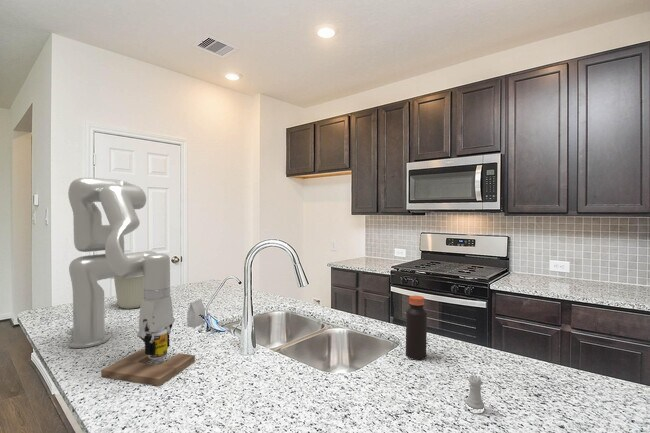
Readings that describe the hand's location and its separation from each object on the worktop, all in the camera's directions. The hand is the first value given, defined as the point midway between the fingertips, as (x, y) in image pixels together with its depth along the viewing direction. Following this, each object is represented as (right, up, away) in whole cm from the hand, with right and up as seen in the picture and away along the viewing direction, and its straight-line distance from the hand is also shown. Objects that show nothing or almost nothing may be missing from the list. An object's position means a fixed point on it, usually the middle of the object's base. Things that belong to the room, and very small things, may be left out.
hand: (157, 349), depth 109 cm
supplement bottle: (0, -2, 0) cm, 2 cm away
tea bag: (-2, -4, +38) cm, 38 cm away
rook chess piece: (+90, -6, -23) cm, 93 cm away
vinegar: (+83, -5, +8) cm, 84 cm away
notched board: (-1, -5, -3) cm, 5 cm away
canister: (-43, -3, +64) cm, 77 cm away
